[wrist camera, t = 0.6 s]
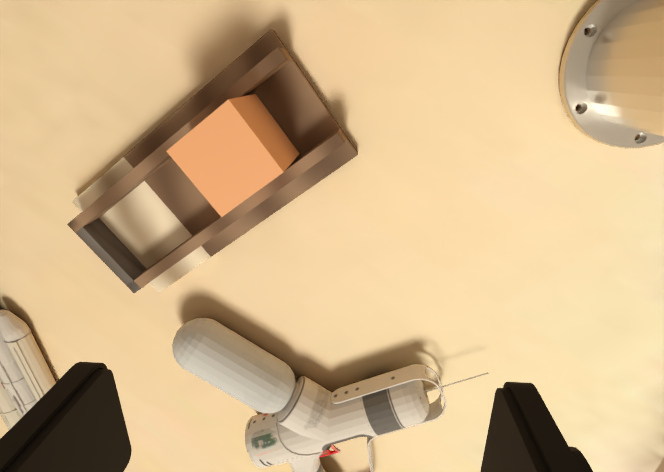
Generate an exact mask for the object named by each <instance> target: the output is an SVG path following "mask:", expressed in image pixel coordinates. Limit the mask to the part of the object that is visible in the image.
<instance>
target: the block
mask: <svg viewBox="0 0 664 472" xmlns="http://www.w3.org/2000/svg"><path fill="white" fill-rule="evenodd" d="M166 152H167V153H168V154H169V155H170V156H171V158H172V159H173V160H174V161H175V162H176V164H177V165H178V166H179V167H180V168H181V170H182V171H183V172H184V173H185V174H186V175H187V177H188V178H189V179H190V180H191V181H192V183H193V184H194V185H195V186H196V187H197V189H198V190H199V191H200V192H201V193H202V195H203V196H204V197H205V198H206V199H207V201H208V202H209V203H210V204H211V205H212V207H213V208H214V209H215V210H216V211H217V213H218V214H219V215H220V216H221V217H223V216H224V215H225V214H227V213H228V212H230V211H231V210H232V209H234V208H235V207H236V206H238V205H239V204H241V203H242V202H243V201H245V200H246V199H248V198H249V197H250V196H252V195H253V194H254V193H256V192H257V191H259V190H260V189H261V188H263V187H264V186H265V185H267V184H268V183H270V182H271V181H272V180H274V179H275V178H276V177H278V176H279V175H281V174H282V173H283V172H284V171H285V170H286V169H287V168H288V167H289V165H290V164H291V163H292V162H293V161H294V160H295V158H296V157H297V156H298V155H299V152H298V151H297V150H296V148H295V147H294V145H293V144H292V143H291V141H290V140H289V139H288V137H287V136H286V135H285V133H284V132H283V130H282V129H281V128H280V126H279V125H278V124H277V122H276V121H275V120H274V118H273V117H272V115H271V114H270V113H269V111H268V110H267V109H266V107H265V106H264V105H263V103H262V102H261V100H260V99H259V98H258V96H257V95H256V94H253V95H248V96H243V97H238V98H233V99H228V100H227V101H226V102H225V103H223V104H222V105H221V106H220V107H219V108H217V109H216V110H215V111H214V112H213V113H211V114H210V115H209V116H208V117H207V118H205V119H204V120H203V121H202V122H201V123H199V124H198V125H197V126H196V127H195V128H193V129H192V130H191V131H190V132H189V133H187V134H186V135H185V136H184V137H183V138H181V139H180V140H179V141H178V142H177V143H175V144H174V145H173V146H172V147H171V148H169V149H168V150H167V151H166Z"/></svg>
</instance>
